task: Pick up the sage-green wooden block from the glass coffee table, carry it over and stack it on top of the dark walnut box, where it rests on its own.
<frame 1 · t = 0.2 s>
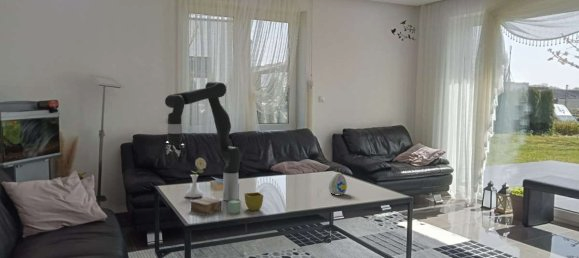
hand: (174, 162, 235), 29 cm above the table, tool pointing down, fingers open, 8 cm apart
walnut box: (206, 211, 247), on the table
decorative egg: (337, 194, 296), on the table
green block: (234, 212, 246), on the table
flower in vase: (195, 196, 278), on the table
flower pot: (253, 209, 252), on the table
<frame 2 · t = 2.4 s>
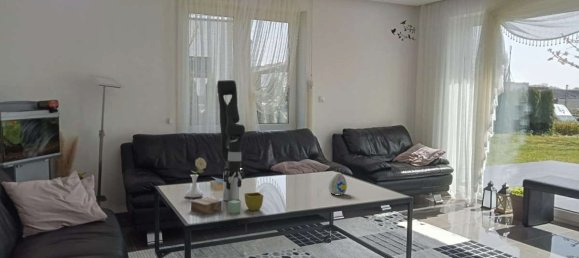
hand: (233, 188, 245), 14 cm above the table, tool pointing down, fingers open, 8 cm apart
nothing on the table moved.
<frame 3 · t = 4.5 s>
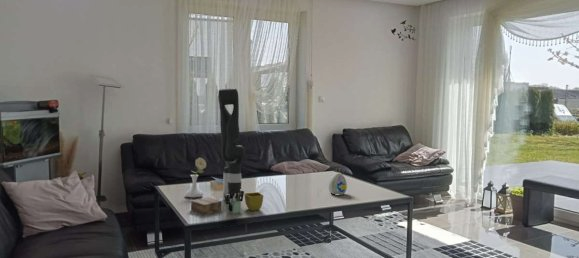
hand: (234, 210, 246), 1 cm above the table, tool pointing down, fingers closed on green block, 5 cm apart
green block: (234, 211, 246), on the table, touching gripper
everything else where it was.
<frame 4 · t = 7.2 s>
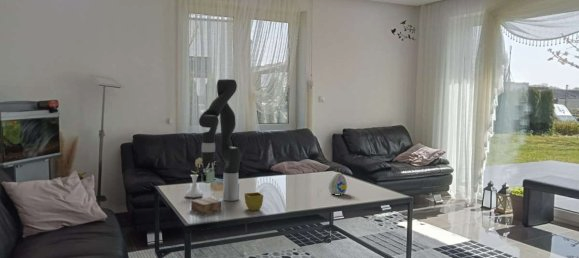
hand: (207, 180, 245), 17 cm above the table, tool pointing down, fingers closed on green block, 5 cm apart
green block: (207, 182, 245), point 16 cm above the table, touching gripper
everything else where it was.
when the fingers open (8 cm above the table, at t = 9.9 s): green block drops 1 cm, point 6 cm above the table.
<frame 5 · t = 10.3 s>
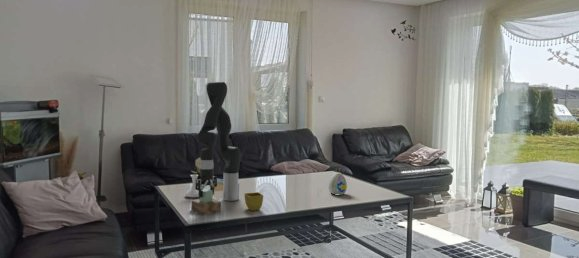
hand: (206, 195, 246), 9 cm above the table, tool pointing down, fingers open, 8 cm apart
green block: (206, 201, 246), point 6 cm above the table
everything else where it was.
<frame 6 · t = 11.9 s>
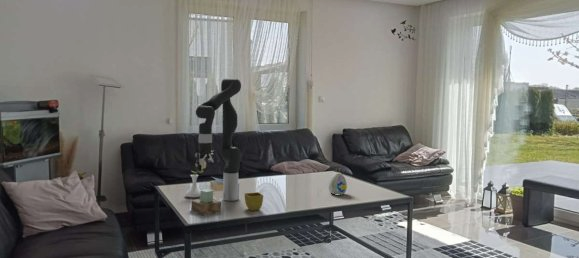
hand: (205, 170, 246), 23 cm above the table, tool pointing down, fingers open, 8 cm apart
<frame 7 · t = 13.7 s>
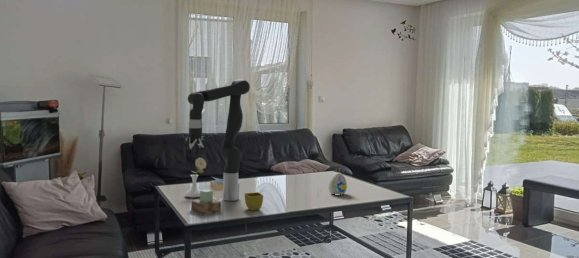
hand: (195, 154, 256), 30 cm above the table, tool pointing down, fingers open, 8 cm apart
nothing on the table moved.
at the end: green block inside the target area on the walnut box (0.2 cm from its centre), point 6.0 cm above the walnut box's base; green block tilted 0°; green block touching walnut box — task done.
